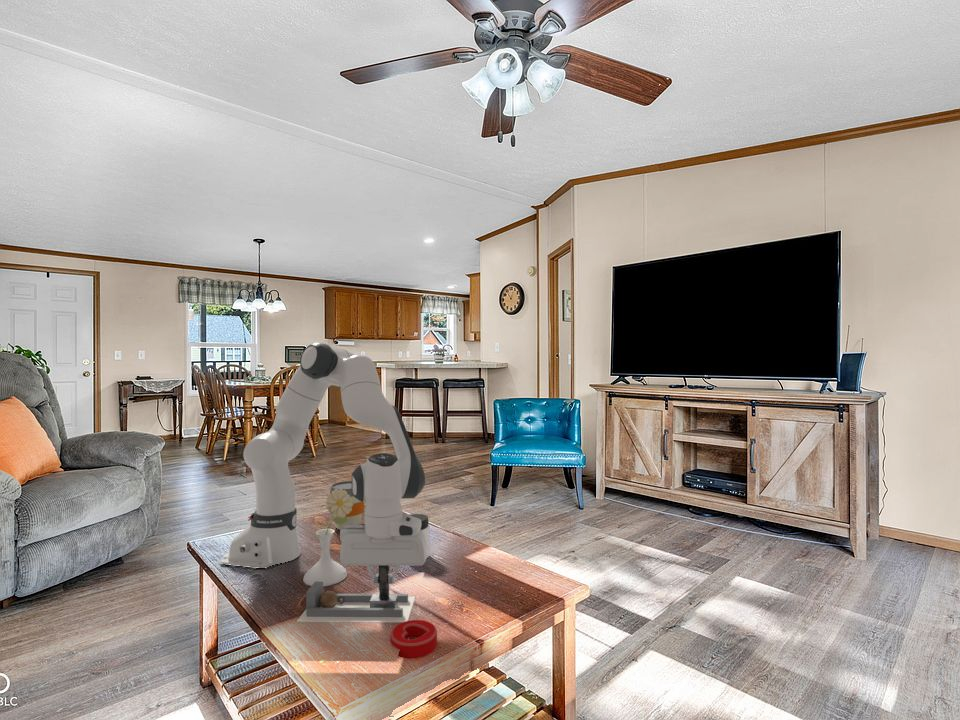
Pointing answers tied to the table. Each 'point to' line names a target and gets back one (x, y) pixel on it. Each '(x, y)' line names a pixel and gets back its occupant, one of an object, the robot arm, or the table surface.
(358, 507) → the reusable coffee cup
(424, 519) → the jar
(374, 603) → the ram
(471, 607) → the table surface
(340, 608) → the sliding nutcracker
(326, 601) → the brown ball
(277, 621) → the table surface
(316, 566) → the flower in vase
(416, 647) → the decorative ornament
